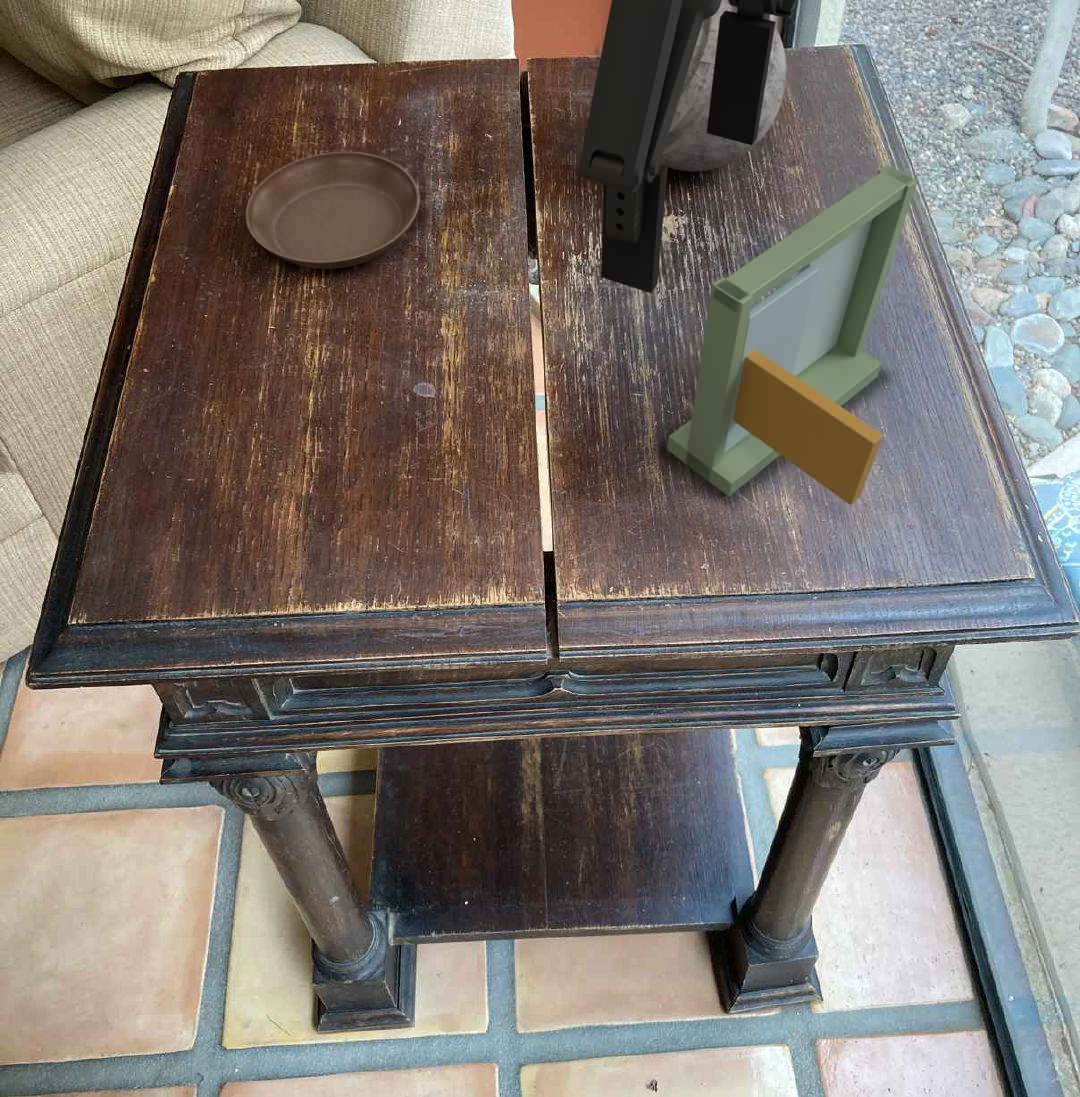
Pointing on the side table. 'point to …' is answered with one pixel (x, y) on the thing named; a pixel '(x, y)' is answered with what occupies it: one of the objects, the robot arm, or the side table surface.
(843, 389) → the window frame
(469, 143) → the side table surface
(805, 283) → the window pane
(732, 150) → the decorative orb
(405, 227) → the saucer
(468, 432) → the side table surface
